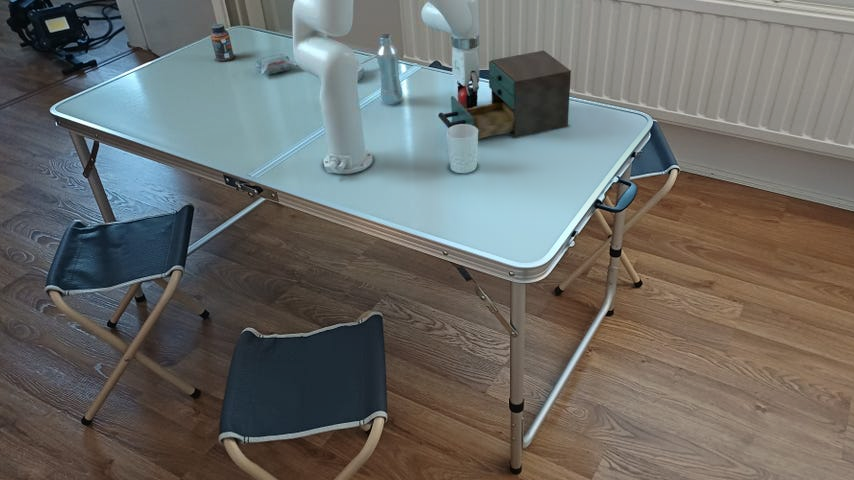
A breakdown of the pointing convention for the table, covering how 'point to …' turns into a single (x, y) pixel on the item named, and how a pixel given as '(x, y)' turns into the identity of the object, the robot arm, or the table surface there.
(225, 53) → the supplement bottle
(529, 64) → the cabinet
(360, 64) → the small pan
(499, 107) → the drawer
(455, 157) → the white cup
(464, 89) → the apple
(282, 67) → the packaged food
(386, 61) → the silver water bottle
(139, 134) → the table surface
